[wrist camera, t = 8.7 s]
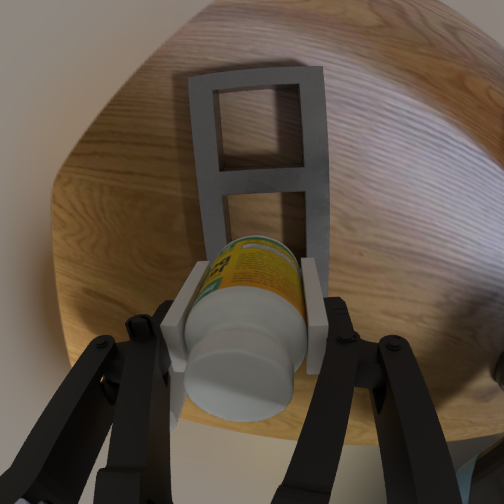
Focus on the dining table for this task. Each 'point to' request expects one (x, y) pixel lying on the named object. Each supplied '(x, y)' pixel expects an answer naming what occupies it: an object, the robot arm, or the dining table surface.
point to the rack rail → (263, 177)
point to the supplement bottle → (247, 332)
